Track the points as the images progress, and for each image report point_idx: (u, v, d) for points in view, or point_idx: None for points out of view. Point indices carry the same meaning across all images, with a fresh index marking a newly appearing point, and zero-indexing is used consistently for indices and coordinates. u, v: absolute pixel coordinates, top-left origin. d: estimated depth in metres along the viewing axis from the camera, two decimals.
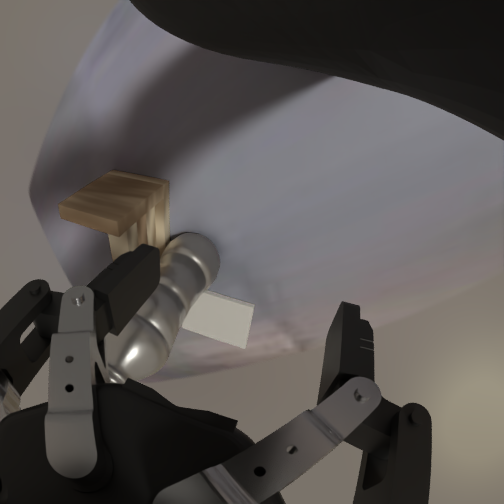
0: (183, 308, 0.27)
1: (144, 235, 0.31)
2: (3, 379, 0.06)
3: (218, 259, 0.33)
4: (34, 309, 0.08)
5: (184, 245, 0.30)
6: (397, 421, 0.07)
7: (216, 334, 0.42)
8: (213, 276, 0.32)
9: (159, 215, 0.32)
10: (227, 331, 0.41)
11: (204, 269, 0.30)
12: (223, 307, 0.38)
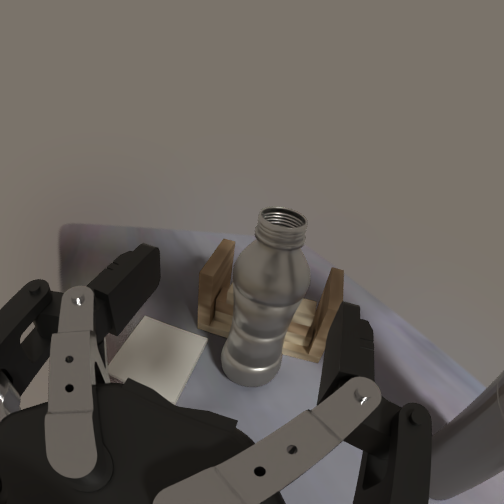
0: (261, 336, 0.26)
1: None
2: (3, 379, 0.06)
3: (251, 385, 0.30)
4: (33, 309, 0.08)
5: (281, 359, 0.31)
6: (397, 421, 0.07)
7: (132, 348, 0.32)
8: (244, 375, 0.29)
9: (291, 346, 0.36)
10: (135, 361, 0.31)
11: (262, 369, 0.29)
12: (175, 371, 0.31)
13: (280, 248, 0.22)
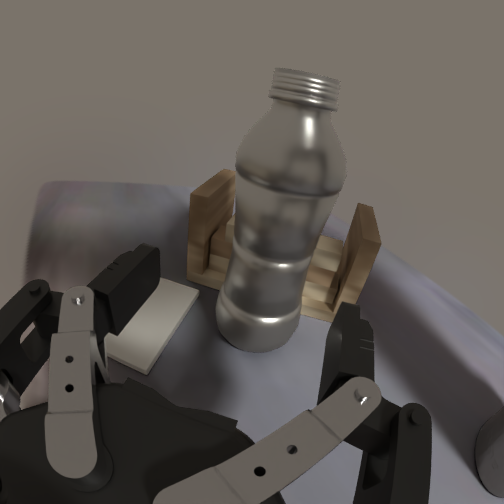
0: (277, 258, 0.18)
1: None
2: (3, 379, 0.06)
3: (258, 348, 0.21)
4: (33, 309, 0.08)
5: None
6: (397, 421, 0.07)
7: None
8: (249, 330, 0.20)
9: (310, 302, 0.27)
10: None
11: (275, 320, 0.20)
12: (151, 328, 0.23)
13: (306, 102, 0.13)
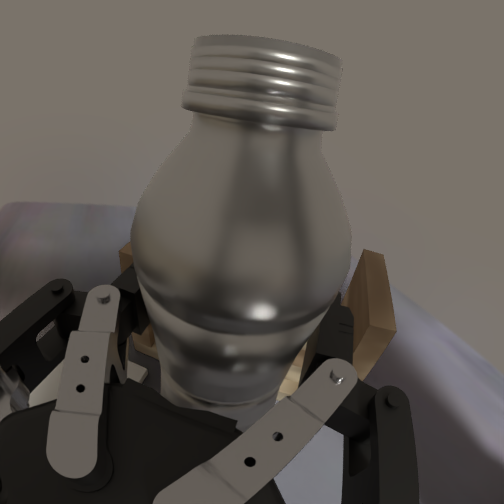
0: (219, 399, 0.10)
1: None
2: (13, 375, 0.06)
3: None
4: (53, 310, 0.08)
5: None
6: (374, 406, 0.07)
7: None
8: None
9: (292, 388, 0.19)
10: (30, 398, 0.14)
11: None
12: None
13: (255, 114, 0.05)
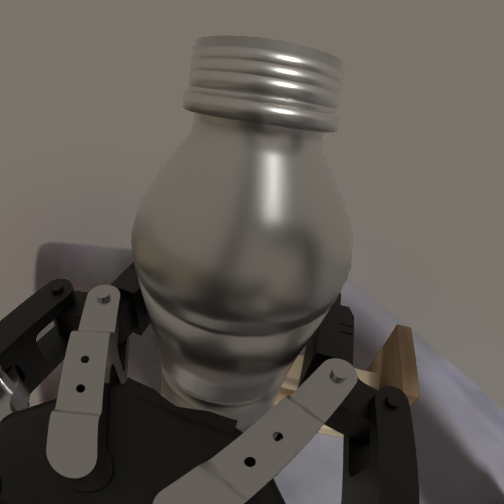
0: (219, 400, 0.10)
1: None
2: (14, 375, 0.06)
3: None
4: (53, 309, 0.08)
5: None
6: (374, 406, 0.07)
7: None
8: None
9: None
10: None
11: None
12: None
13: (257, 116, 0.05)
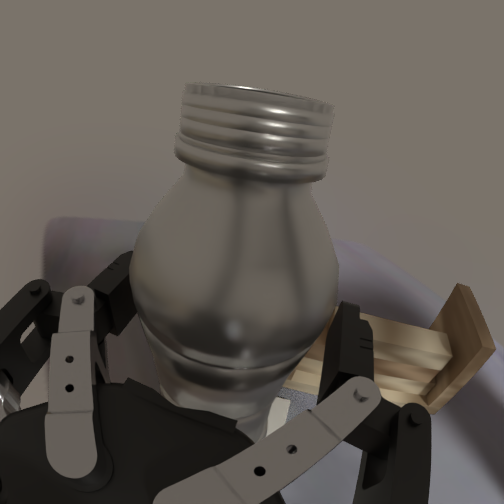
0: None
1: (407, 374, 0.20)
2: (3, 379, 0.06)
3: None
4: (34, 309, 0.08)
5: (266, 432, 0.15)
6: (397, 421, 0.07)
7: None
8: None
9: (407, 398, 0.21)
10: None
11: None
12: None
13: (245, 172, 0.06)
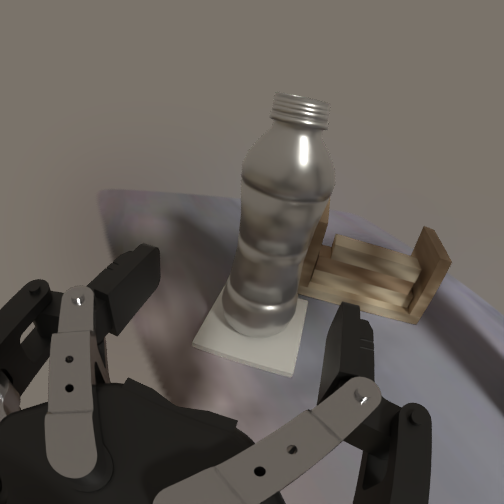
0: (276, 253, 0.21)
1: (390, 285, 0.31)
2: (3, 379, 0.06)
3: (260, 333, 0.25)
4: (33, 309, 0.08)
5: None
6: (397, 421, 0.07)
7: (223, 314, 0.28)
8: (252, 316, 0.24)
9: (392, 307, 0.32)
10: (231, 329, 0.27)
11: (275, 307, 0.23)
12: (283, 337, 0.27)
13: (301, 124, 0.17)
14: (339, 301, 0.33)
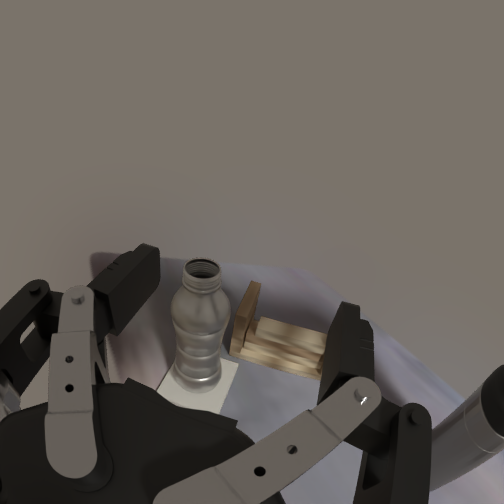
0: (195, 355, 0.32)
1: (302, 355, 0.43)
2: (3, 379, 0.06)
3: (196, 392, 0.36)
4: (33, 309, 0.08)
5: (220, 372, 0.37)
6: (397, 421, 0.07)
7: None
8: (188, 383, 0.35)
9: (306, 369, 0.43)
10: None
11: (202, 380, 0.35)
12: (215, 392, 0.38)
13: (197, 293, 0.28)
14: (263, 363, 0.44)
